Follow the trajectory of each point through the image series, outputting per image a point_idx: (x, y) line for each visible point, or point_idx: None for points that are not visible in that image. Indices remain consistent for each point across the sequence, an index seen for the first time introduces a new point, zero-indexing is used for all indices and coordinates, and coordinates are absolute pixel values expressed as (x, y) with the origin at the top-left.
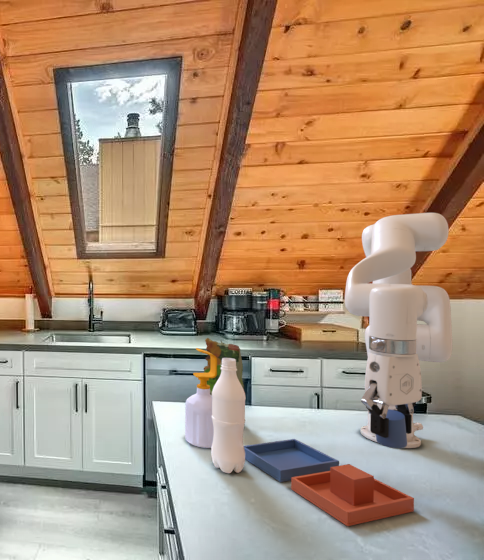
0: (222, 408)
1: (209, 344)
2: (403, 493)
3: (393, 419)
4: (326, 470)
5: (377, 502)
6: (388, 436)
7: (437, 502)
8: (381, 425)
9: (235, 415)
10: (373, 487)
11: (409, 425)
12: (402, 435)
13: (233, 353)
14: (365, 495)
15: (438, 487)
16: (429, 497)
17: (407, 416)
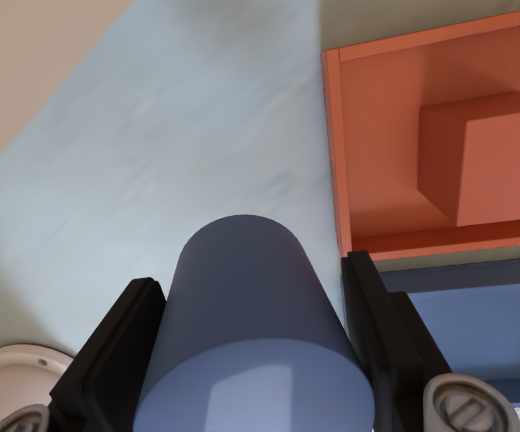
0: None
1: None
2: (334, 86)
3: (307, 357)
4: (395, 278)
5: (409, 102)
6: (350, 252)
7: (190, 96)
8: (408, 326)
9: None
10: (445, 113)
11: (125, 314)
12: (241, 247)
13: None
14: (475, 103)
15: (114, 172)
16: (190, 125)
17: (97, 385)
